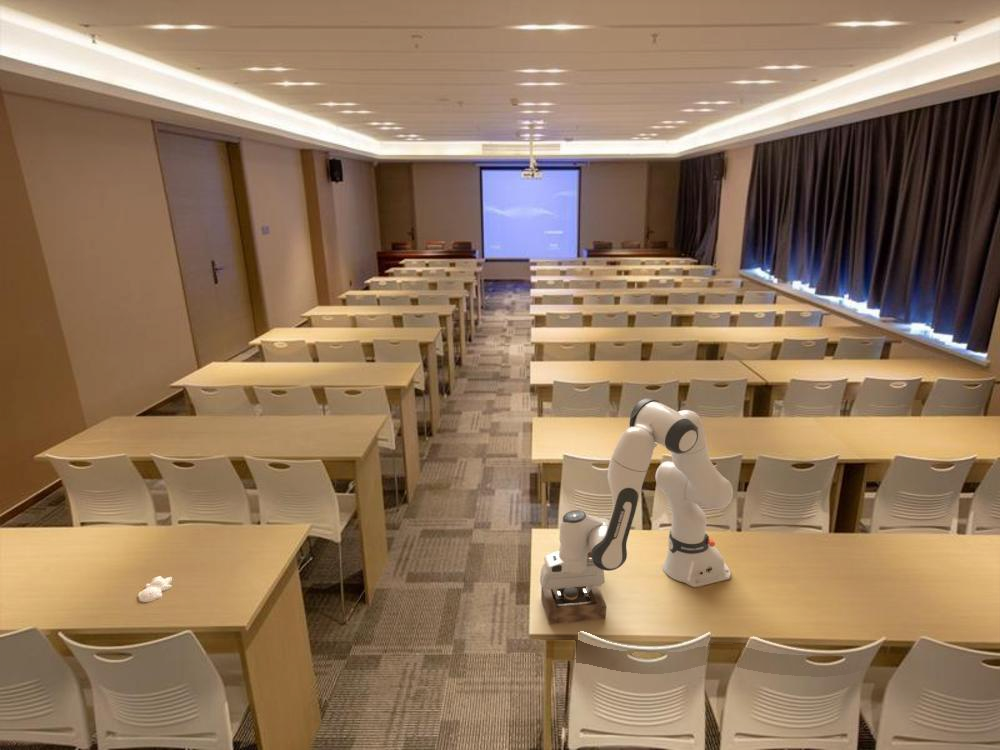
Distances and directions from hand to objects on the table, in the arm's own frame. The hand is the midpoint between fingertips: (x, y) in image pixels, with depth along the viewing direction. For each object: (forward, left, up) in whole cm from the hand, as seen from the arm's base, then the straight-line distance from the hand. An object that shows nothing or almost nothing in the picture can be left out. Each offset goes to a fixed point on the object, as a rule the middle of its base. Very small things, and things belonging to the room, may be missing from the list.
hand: (571, 596), depth 193 cm
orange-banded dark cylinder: (0, 0, -3) cm, 3 cm away
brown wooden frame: (0, +2, -3) cm, 4 cm away
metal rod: (0, +4, 0) cm, 4 cm away
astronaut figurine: (+136, -26, -4) cm, 138 cm away
